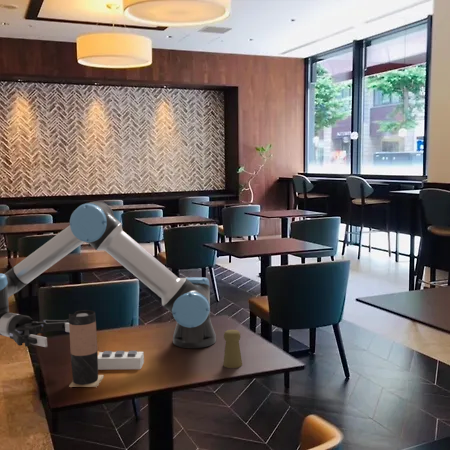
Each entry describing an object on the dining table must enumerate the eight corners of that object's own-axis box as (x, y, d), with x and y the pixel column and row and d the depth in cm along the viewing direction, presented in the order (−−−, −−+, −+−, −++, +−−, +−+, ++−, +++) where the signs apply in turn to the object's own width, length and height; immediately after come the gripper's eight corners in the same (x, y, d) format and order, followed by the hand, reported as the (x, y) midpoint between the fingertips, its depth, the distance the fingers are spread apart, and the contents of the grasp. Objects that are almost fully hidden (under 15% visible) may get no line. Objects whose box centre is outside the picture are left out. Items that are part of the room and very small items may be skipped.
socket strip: (143, 362, 181) (143, 348, 181) (140, 369, 176) (140, 355, 175) (88, 362, 182) (87, 349, 182) (82, 369, 176) (82, 356, 176)
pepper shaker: (228, 369, 173) (227, 334, 172) (219, 363, 179) (218, 329, 178) (245, 365, 176) (245, 331, 175) (236, 360, 182) (235, 326, 180)
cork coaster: (103, 376, 170) (103, 374, 170) (96, 387, 162) (96, 385, 162) (77, 377, 170) (77, 375, 170) (69, 387, 162) (69, 385, 162)
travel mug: (99, 383, 163) (96, 315, 161) (72, 386, 161) (68, 318, 159) (98, 373, 171) (94, 308, 169) (71, 377, 169) (68, 311, 167)
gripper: (48, 327, 191) (94, 336, 180) (-17, 349, 170) (30, 361, 159) (47, 305, 190) (93, 313, 179) (-19, 324, 169) (29, 334, 158)
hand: (64, 335), depth 169 cm, fingers open, 13 cm apart
